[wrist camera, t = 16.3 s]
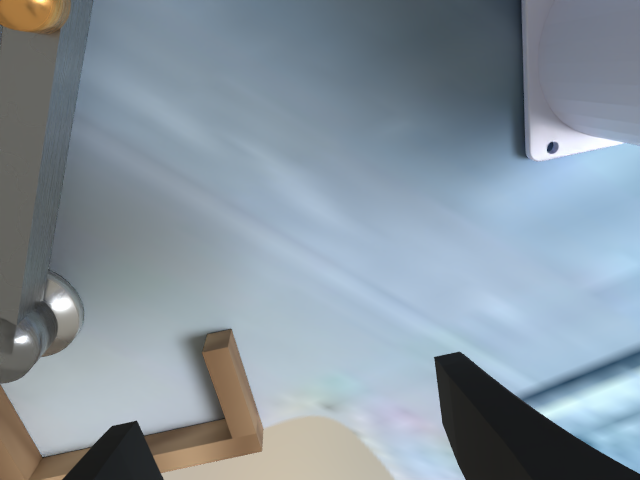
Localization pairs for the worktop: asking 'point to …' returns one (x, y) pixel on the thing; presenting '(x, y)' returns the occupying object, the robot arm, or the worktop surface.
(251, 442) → the tan wooden u-shaped piece
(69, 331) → the grey metal disc
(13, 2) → the grey long bar
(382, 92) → the worktop surface
